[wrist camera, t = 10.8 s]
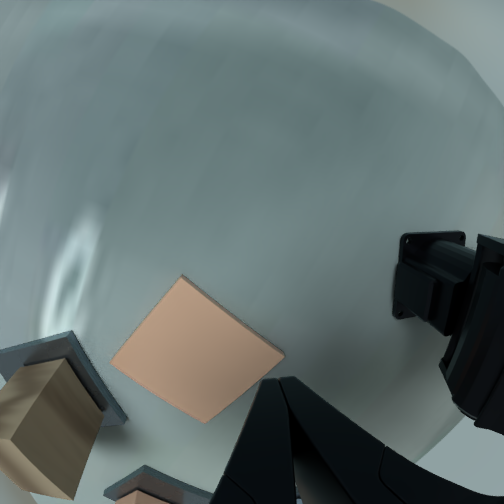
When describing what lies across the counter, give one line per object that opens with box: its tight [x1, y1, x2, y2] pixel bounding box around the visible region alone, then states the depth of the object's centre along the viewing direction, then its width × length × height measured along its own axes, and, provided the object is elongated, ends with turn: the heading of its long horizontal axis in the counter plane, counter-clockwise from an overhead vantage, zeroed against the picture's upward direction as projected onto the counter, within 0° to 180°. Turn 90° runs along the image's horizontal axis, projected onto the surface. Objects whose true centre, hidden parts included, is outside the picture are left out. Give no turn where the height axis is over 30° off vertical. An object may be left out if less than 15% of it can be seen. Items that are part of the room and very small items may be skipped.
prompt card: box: [110, 274, 285, 424], centre depth 20 cm, size 9×9×1 cm
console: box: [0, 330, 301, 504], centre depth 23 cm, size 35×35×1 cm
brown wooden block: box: [0, 358, 104, 500], centre depth 14 cm, size 6×6×9 cm
